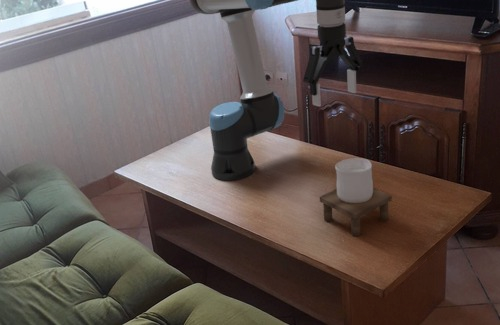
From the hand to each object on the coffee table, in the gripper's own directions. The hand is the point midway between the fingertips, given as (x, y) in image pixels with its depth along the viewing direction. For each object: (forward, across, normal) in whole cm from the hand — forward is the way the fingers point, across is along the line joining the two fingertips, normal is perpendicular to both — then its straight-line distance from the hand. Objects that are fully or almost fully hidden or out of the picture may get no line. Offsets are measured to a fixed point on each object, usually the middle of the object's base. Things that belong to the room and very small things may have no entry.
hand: (334, 98), depth 168 cm
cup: (+24, -6, -13) cm, 28 cm away
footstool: (+32, -6, -13) cm, 35 cm away
